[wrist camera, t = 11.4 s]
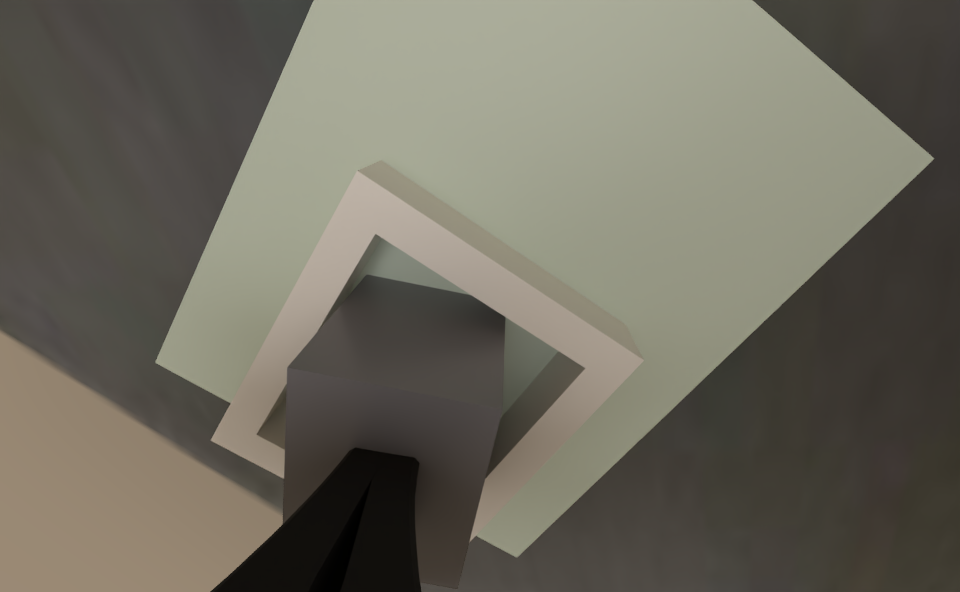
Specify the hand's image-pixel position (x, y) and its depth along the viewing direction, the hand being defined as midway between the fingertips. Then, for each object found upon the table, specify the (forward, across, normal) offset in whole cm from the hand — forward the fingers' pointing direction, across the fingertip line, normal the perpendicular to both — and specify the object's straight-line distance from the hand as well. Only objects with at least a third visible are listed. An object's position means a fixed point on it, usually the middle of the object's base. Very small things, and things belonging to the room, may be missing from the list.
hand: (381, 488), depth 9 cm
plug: (+5, 0, 0) cm, 5 cm away
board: (+6, -2, -3) cm, 7 cm away
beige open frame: (+6, 0, 0) cm, 6 cm away
